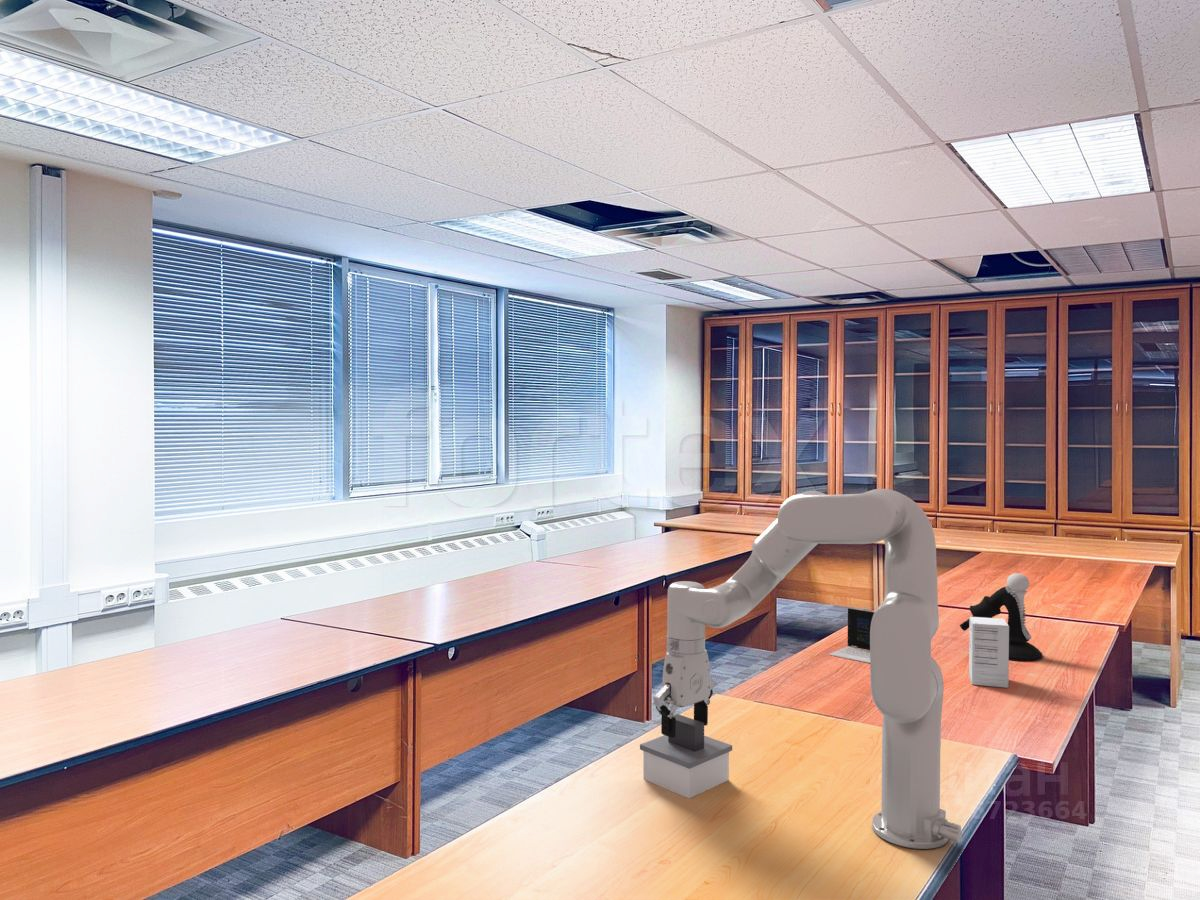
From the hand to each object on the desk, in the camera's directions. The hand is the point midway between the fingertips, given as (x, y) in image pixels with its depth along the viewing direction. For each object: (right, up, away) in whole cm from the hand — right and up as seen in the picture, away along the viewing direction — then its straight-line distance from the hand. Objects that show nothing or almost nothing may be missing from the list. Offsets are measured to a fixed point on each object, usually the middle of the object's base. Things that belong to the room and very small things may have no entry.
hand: (684, 729), depth 169 cm
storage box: (0, -10, 0) cm, 10 cm away
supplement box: (+89, -8, +63) cm, 110 cm away
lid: (0, -4, 0) cm, 4 cm away
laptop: (+64, -8, +88) cm, 109 cm away
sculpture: (+107, -7, +93) cm, 141 cm away
